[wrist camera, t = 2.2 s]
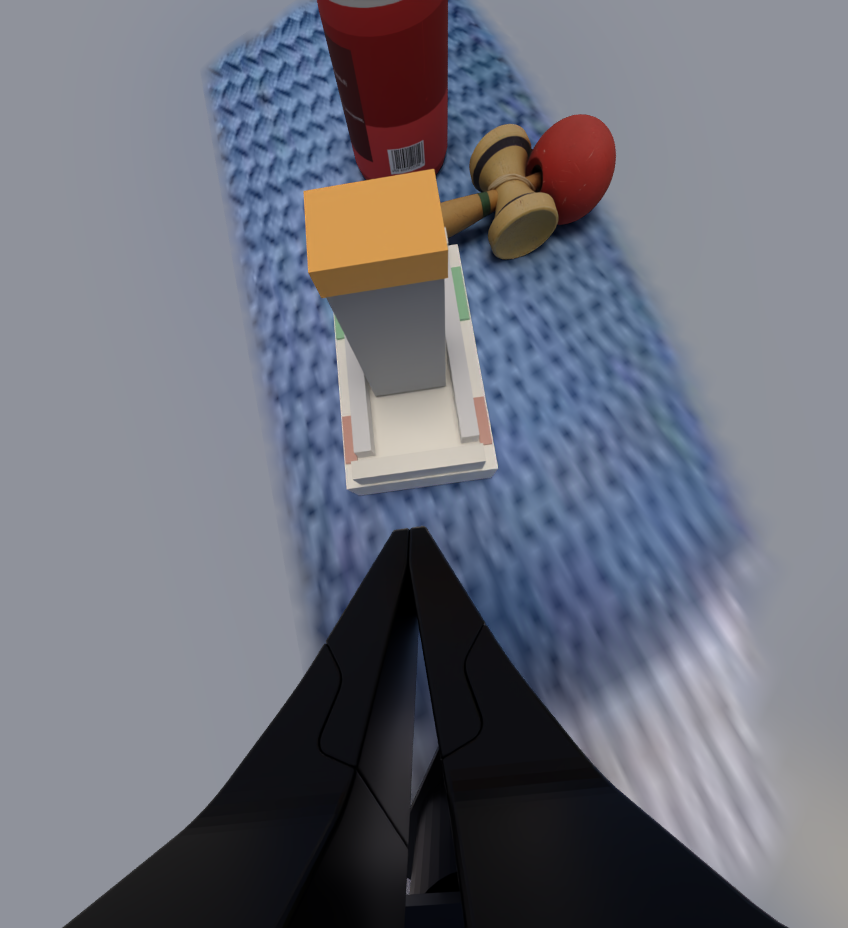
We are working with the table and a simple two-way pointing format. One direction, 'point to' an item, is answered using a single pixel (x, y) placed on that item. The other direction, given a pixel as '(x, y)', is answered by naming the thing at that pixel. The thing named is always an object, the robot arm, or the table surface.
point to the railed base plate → (419, 413)
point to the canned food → (391, 80)
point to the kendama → (534, 182)
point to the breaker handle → (384, 274)
